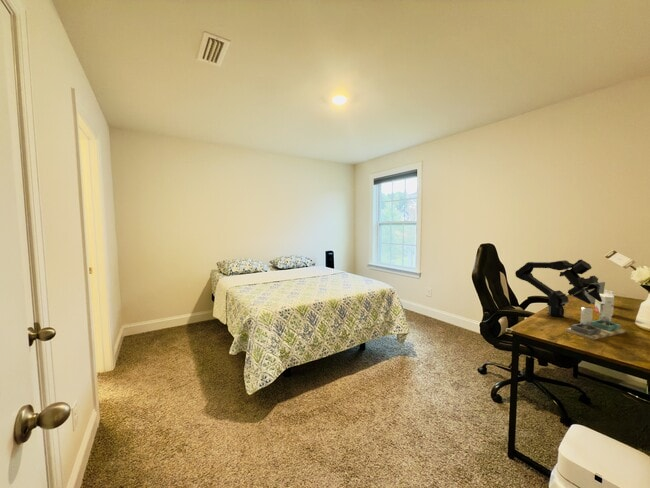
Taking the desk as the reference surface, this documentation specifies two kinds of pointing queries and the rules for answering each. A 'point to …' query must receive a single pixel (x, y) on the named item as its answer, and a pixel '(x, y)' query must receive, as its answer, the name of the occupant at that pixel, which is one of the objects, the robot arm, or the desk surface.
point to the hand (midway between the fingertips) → (595, 302)
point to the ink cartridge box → (605, 300)
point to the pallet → (596, 330)
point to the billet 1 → (586, 318)
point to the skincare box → (601, 291)
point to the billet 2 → (605, 314)
